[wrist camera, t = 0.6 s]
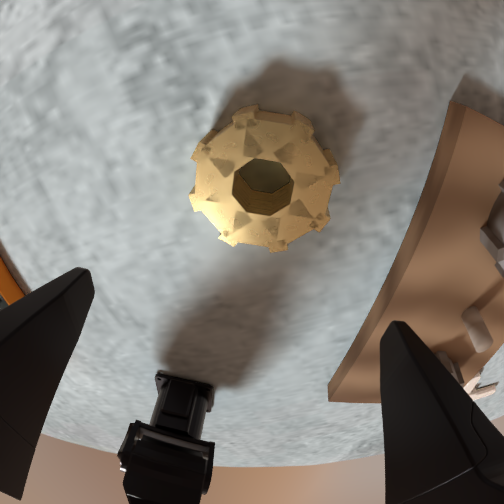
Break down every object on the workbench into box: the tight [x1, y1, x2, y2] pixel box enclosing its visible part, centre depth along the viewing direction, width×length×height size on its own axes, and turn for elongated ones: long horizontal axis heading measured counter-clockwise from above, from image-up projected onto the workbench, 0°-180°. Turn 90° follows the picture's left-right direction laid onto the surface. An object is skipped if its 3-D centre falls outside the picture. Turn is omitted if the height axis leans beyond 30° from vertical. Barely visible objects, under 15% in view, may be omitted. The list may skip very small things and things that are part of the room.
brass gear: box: [189, 104, 340, 253], centre depth 17 cm, size 8×8×3 cm
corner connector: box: [463, 372, 496, 400], centre depth 30 cm, size 8×8×2 cm
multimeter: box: [0, 257, 25, 310], centre depth 28 cm, size 9×18×3 cm, turn 16°
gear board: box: [328, 101, 504, 403], centre depth 20 cm, size 28×16×6 cm, turn 172°
